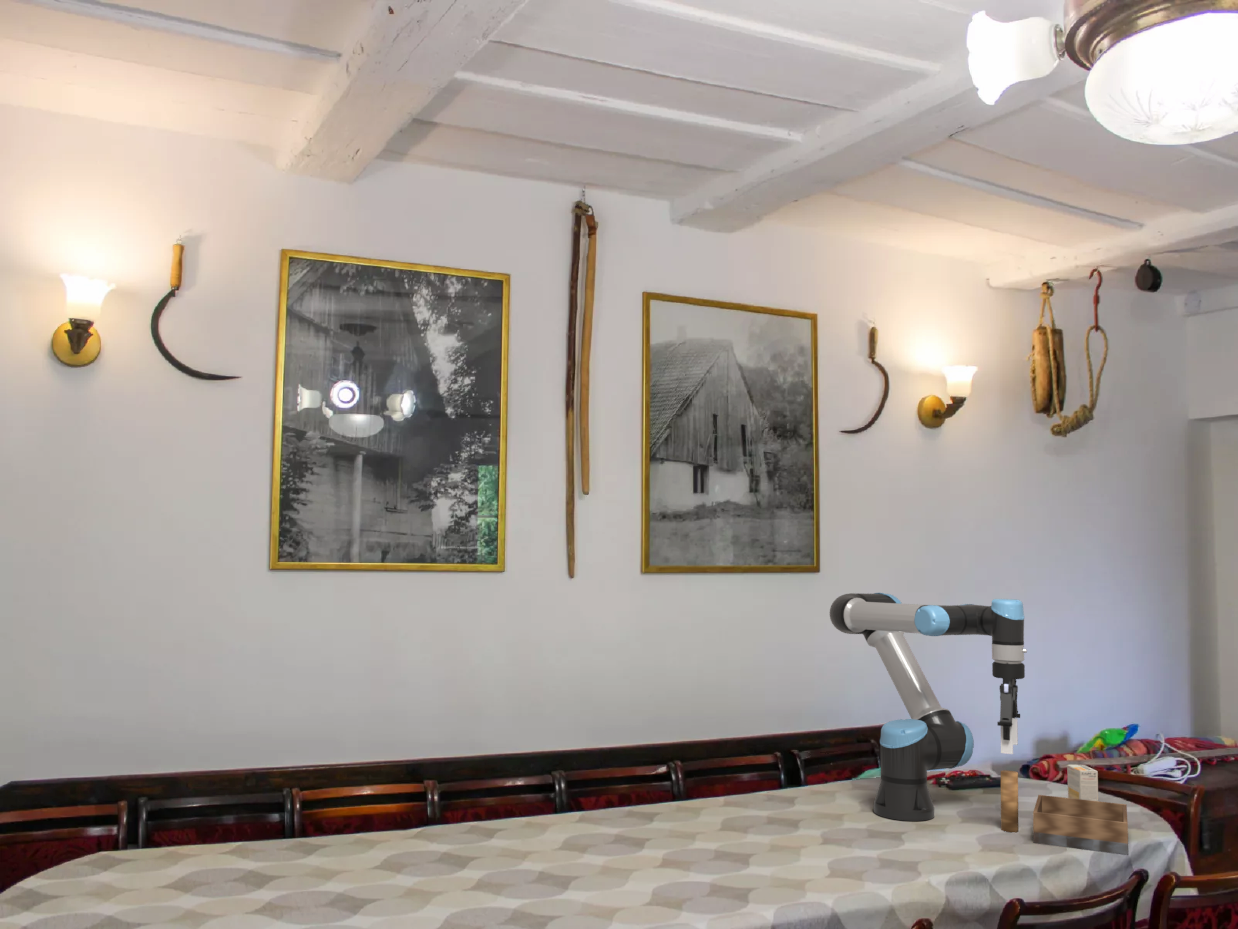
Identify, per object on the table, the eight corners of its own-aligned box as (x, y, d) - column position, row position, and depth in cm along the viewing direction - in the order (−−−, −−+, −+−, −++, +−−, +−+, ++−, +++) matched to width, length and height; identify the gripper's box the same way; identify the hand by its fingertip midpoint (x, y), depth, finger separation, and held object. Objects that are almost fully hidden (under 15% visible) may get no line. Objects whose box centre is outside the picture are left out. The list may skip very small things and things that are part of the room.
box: (1033, 842, 244) (1033, 812, 245) (1038, 823, 263) (1038, 794, 263) (1128, 855, 236) (1127, 823, 236) (1127, 833, 254) (1126, 804, 254)
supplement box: (1099, 823, 263) (1098, 771, 264) (1080, 823, 263) (1079, 770, 264) (1085, 815, 271) (1085, 764, 272) (1067, 814, 271) (1066, 763, 272)
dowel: (1000, 831, 254) (999, 772, 255) (1001, 827, 258) (1001, 769, 259) (1017, 833, 253) (1017, 774, 254) (1019, 829, 256) (1018, 771, 257)
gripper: (1020, 667, 245) (1021, 759, 244) (1028, 658, 268) (1029, 742, 266) (986, 665, 249) (988, 755, 247) (997, 656, 271) (998, 739, 269)
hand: (1009, 749), depth 257 cm, fingers open, 13 cm apart
